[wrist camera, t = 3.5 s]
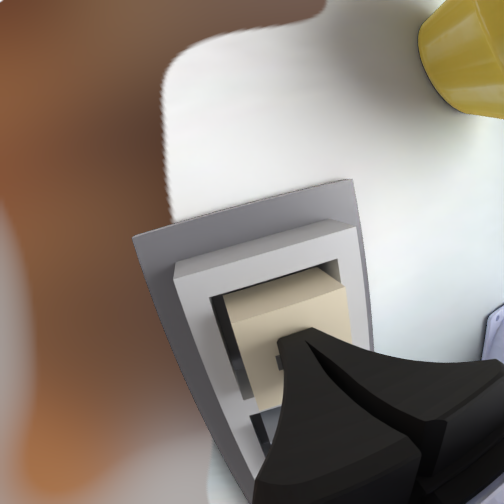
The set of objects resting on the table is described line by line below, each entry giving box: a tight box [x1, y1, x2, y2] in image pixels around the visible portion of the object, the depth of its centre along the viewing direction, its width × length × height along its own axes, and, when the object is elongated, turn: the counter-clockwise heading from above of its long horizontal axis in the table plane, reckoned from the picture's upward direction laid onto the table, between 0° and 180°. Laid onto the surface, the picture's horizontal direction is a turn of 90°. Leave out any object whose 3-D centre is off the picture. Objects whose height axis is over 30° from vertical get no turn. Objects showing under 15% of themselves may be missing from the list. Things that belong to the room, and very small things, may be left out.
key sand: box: [223, 267, 352, 411], centre depth 12 cm, size 4×4×3 cm
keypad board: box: [132, 179, 374, 504], centre depth 16 cm, size 10×28×3 cm, turn 14°
